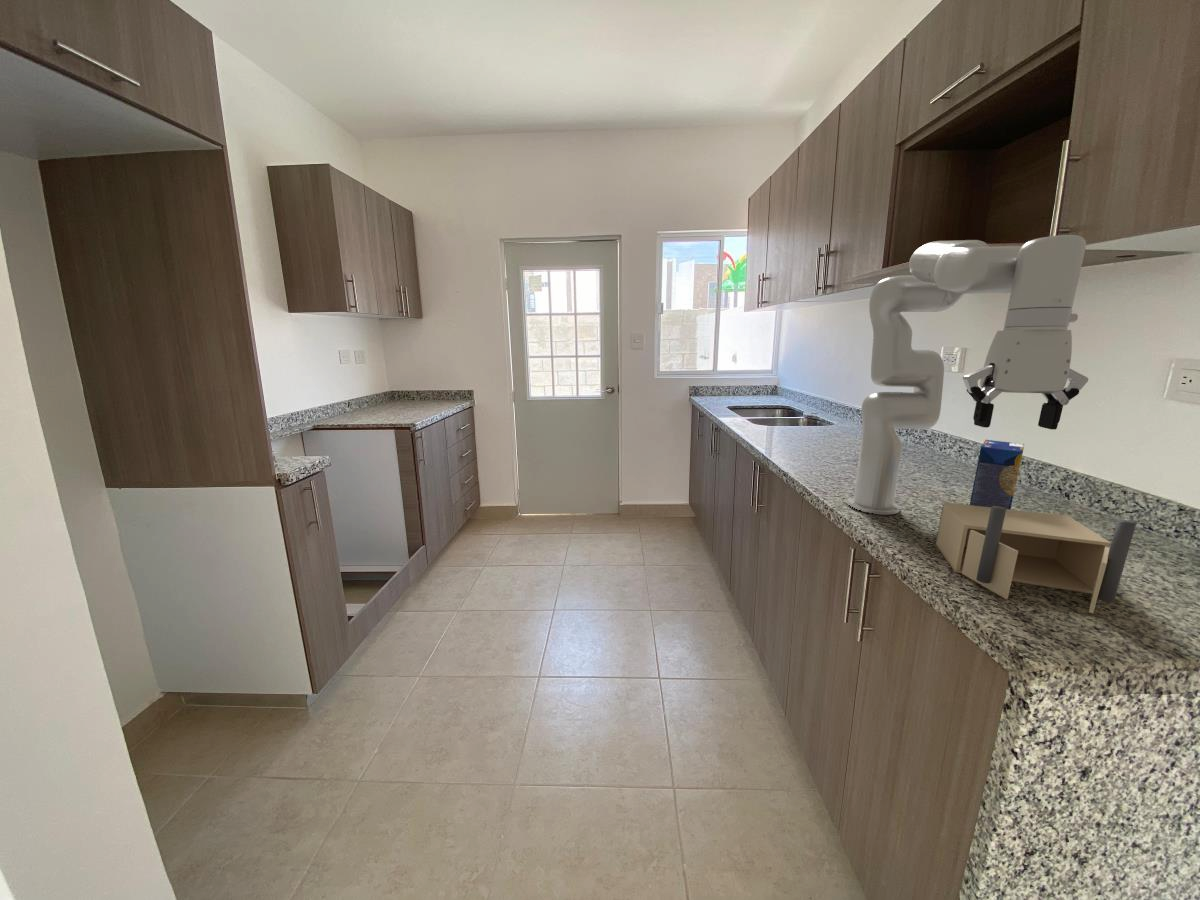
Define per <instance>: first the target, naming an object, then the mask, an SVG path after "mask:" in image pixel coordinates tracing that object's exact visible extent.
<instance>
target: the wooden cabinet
mask: <svg viewBox="0 0 1200 900" xmlns="http://www.w3.org/2000/svg"><path fill="white" fill-rule="evenodd" d="M990 510H991V507H982V506H973V505H970V504H963V503H953V502H945V501H943V502H942V508H941V514H940V519H939V525H938V529H937V536H936V539H935V540H936V542H935V546H936V547H937V548H938V550H939V551H940V552H941V554H942V556H943V557H944V558H945V560H946V562H947V563H948V564H949V565H950V567H951V568H952V570H953V571H954V573H958V574H962V570H963V565H964V560H965V555H966V550H967V545H968V540H969V535H970V530H974V531H976V532H978V533H980V534H983V535H985V534H986V530H987V525H988V520H989V515H990ZM999 542H1000V543H1002V544H1004V545H1007V546H1009V547H1011V548H1013V549H1015V550H1017V551H1018V555H1017V560H1016V564H1015V568H1014V573H1013V577H1012V582H1016V583H1021V584H1028V585H1032V586H1033V585H1034V586H1040V587H1048V588H1054V589H1058V590H1059V589H1060V590H1067V591H1072V592H1073V591H1074V592H1079V593H1086V594H1093V590H1094V586H1095V583H1096V579H1097V575H1098V572H1099V568H1100V564H1101V561H1102V557H1103V553H1104V550H1105V547H1109V548H1110V546H1111V542H1110V541H1108V540H1107V539H1105V538H1104V537H1103V536H1101V535H1099V534H1098V533H1096V532H1094V531H1092V530H1091V529H1090V528H1088V527H1086V526H1085V525H1083V524H1081V523H1080V522H1078V521H1077V520H1075V519H1073V518H1072V517H1071V516H1069V515H1063V514H1053V513H1045V512H1035V511H1025V510H1018V509H1006V513H1005V517H1004V522H1003V527H1002V531H1001V536H1000V541H999Z"/></svg>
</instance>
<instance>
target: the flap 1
mask: <svg viewBox="0 0 1200 900" xmlns="http://www.w3.org/2000/svg"><path fill="white" fill-rule="evenodd" d="M1005 513H1006V508H1004V507H1000V506H991V510H990V515H989V520H988V525H987V530H986V534H985V535H983V534H980V533H978V532H976V531H974V530H970V535H969V540H968V545H967V550H966V555H965V560H964V565H963V570H962V573H961V574H962V575H964V576H965V577H967V578H968V579H971V580H972V581H974V582H976V583H978V584H979V585H981V586H982V587H984V588H986V589H987V590H989V591H992V592H993V593H995V594H997V595H998V596H1000V597H1002V598H1004V600H1005V599H1008V598H1009V595H1010V594H1009V593H1010V590H1011V585H1012V582H1013V581H1012V577H1013V573H1014V568H1015V564H1016V560H1017V555H1018V551H1017V550H1015V549H1013V548H1011V547H1009V546H1007V545H1004V544H1002V543H1000V542H999V541H1000V536H1001V531H1002V527H1003V522H1004V517H1005Z"/></svg>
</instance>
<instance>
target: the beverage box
mask: <svg viewBox="0 0 1200 900" xmlns="http://www.w3.org/2000/svg"><path fill="white" fill-rule="evenodd" d="M1024 448H1025V443H1019V442H1012V441H1011V442H1010V441H1009V442H1007V441H1001V440H992V439H991V440H990V439H985V440H984V441H983V443H982V445H981V446H980V451H979V456H978V460H977V465H976V470H975V476H974V480H973V486H972V491H971V496H970V502H969V505H973V506H982V507H991V506H1000V507H1004V508H1006V509H1010V510H1012V504H1013V500H1014V496H1015V489H1016V485H1017V480H1018V477H1019V476H1018V475H1019V471H1020V467H1021V464H1022V463H1021V462H1022V457H1023V453H1024Z"/></svg>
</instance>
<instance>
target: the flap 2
mask: <svg viewBox="0 0 1200 900" xmlns="http://www.w3.org/2000/svg"><path fill="white" fill-rule="evenodd" d="M1136 526H1137V523H1136V522H1134V521H1132V520H1129V519H1117V521H1116V525H1115V529H1114V532H1113V535H1112V538H1111V539H1112V540H1111V542H1110V543H1111V544H1110V547H1105V550H1104V553H1103V557H1102V561H1101V564H1100V568H1099V572H1098V575H1097V579H1096V583H1095V586H1094V590H1093V594H1092V595H1091V600H1090V605H1089V610H1088V612H1089V613H1091V614H1094V613H1095V612H1094V611H1095V609H1096V604H1097V600H1098V601H1101V602H1103V603H1106V604H1114V603H1115V599H1116V596H1117V591H1118V589H1119V585H1120V583H1121V578H1122V576H1123V571H1124V568H1125V565H1126V561H1127V557H1128V554H1129V551H1130V546H1131V545H1132V540H1133V538H1134V537H1133V536H1134V533H1135V529H1136Z"/></svg>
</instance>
